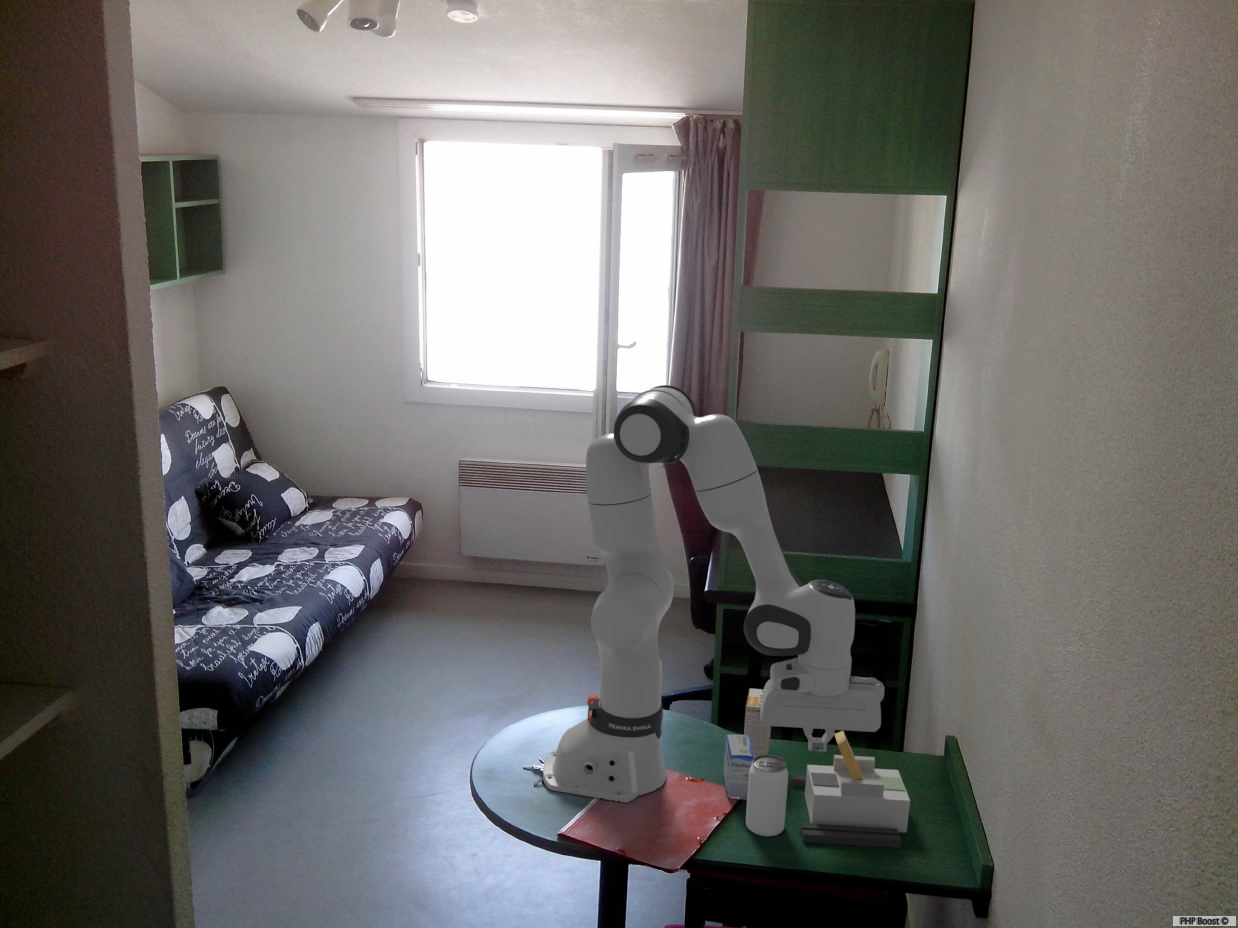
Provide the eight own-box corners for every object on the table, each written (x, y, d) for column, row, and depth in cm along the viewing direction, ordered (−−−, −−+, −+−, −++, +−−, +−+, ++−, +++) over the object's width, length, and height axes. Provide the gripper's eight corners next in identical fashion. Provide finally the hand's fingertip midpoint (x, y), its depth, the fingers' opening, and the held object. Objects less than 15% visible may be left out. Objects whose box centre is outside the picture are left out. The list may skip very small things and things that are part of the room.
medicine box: (722, 776, 194) (725, 733, 192) (746, 776, 194) (749, 734, 192) (727, 799, 186) (730, 755, 184) (752, 800, 186) (755, 755, 184)
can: (783, 840, 174) (789, 774, 172) (744, 835, 175) (749, 770, 173) (784, 818, 181) (789, 755, 178) (746, 814, 182) (751, 751, 179)
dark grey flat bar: (802, 841, 174) (803, 834, 174) (800, 829, 177) (801, 822, 177) (900, 847, 173) (901, 840, 173) (896, 835, 177) (897, 828, 176)
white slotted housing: (811, 826, 179) (815, 781, 177) (804, 794, 188) (808, 752, 186) (906, 832, 178) (911, 787, 176) (894, 800, 188) (899, 757, 186)
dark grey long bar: (791, 785, 191) (792, 778, 191) (791, 781, 192) (791, 774, 192) (880, 791, 190) (881, 784, 190) (879, 787, 192) (879, 780, 191)
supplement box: (766, 773, 195) (771, 709, 192) (740, 770, 196) (745, 705, 193) (769, 752, 203) (774, 689, 200) (744, 749, 204) (748, 686, 201)
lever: (857, 790, 179) (838, 747, 177) (852, 773, 184) (833, 731, 183) (866, 787, 179) (847, 744, 177) (861, 770, 184) (842, 728, 183)
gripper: (882, 670, 180) (874, 743, 183) (762, 664, 181) (756, 737, 184) (889, 686, 174) (881, 762, 177) (765, 679, 175) (759, 755, 178)
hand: (817, 749), depth 181 cm, fingers closed
